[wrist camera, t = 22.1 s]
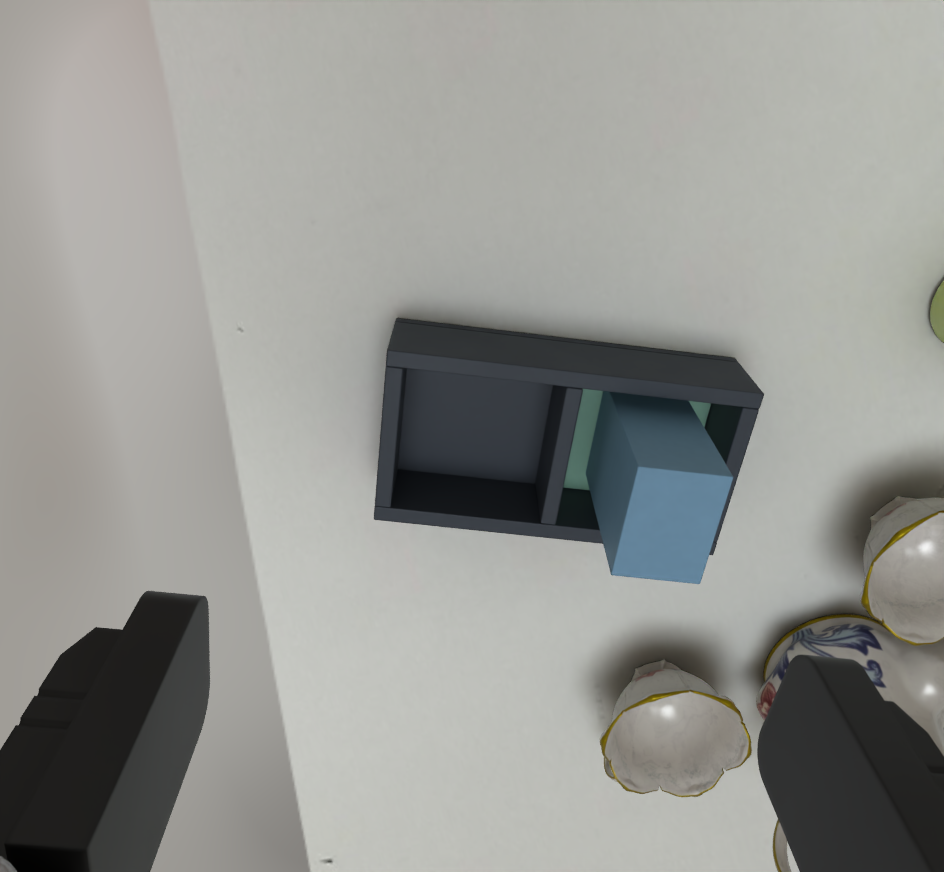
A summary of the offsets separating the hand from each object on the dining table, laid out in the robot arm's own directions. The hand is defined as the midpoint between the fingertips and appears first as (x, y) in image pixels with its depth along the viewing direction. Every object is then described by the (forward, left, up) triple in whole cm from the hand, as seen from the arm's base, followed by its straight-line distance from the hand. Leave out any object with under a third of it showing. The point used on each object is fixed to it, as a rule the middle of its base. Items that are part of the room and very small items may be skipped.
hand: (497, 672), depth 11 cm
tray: (+5, -10, -30) cm, 32 cm away
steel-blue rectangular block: (+9, -10, -29) cm, 32 cm away
